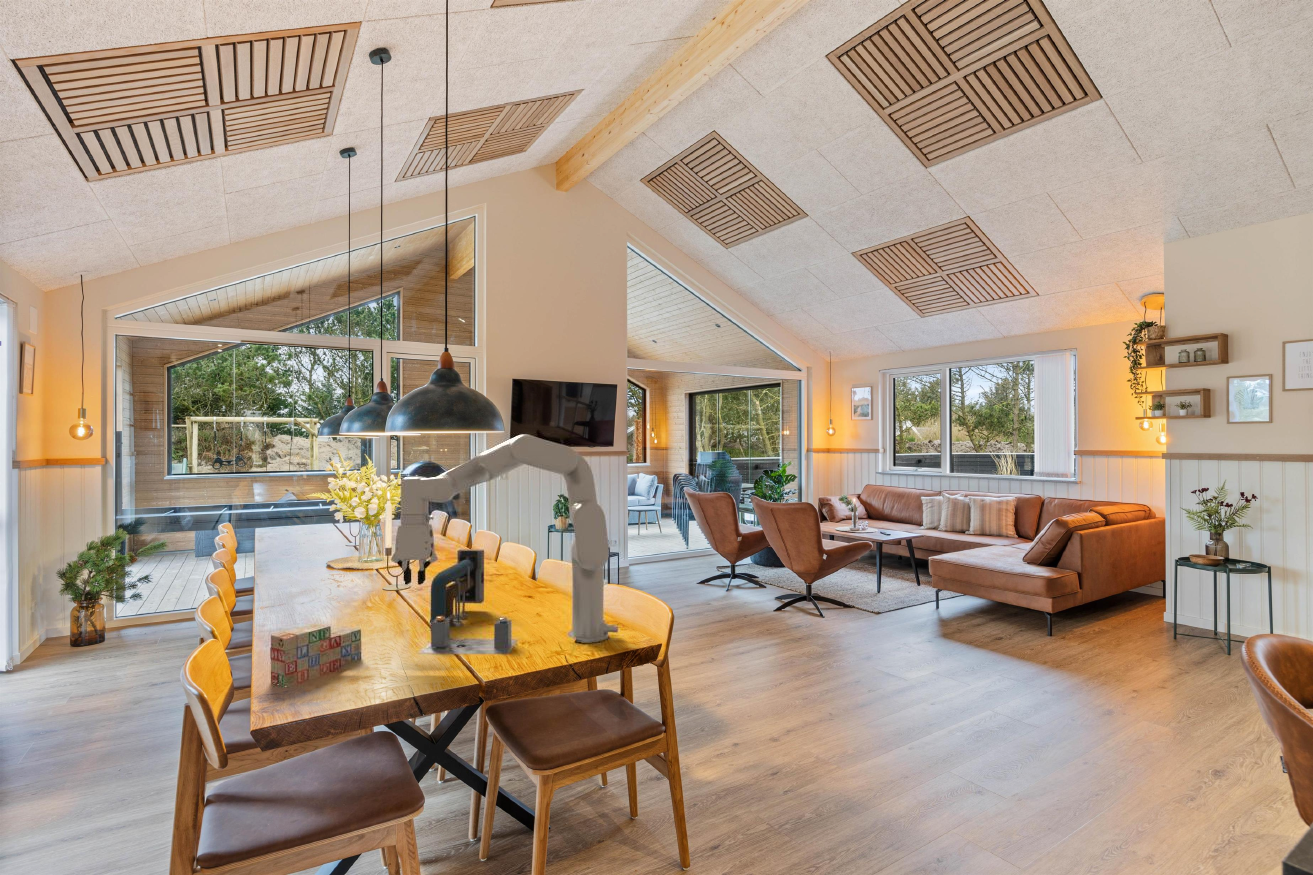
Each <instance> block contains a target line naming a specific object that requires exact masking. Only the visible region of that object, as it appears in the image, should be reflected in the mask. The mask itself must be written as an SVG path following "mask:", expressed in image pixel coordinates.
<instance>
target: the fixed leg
mask: <svg viewBox="0 0 1313 875" xmlns="http://www.w3.org/2000/svg"><path fill="white" fill-rule="evenodd" d="M493 626H494V628H493V629H494V630H493V631H494V632H493V636H494V637H493V639H494V648H509V647H510V645H511V639H512V619H508V617H506V616H503V617H498V619H497V620H495V622H494V624H493Z"/></svg>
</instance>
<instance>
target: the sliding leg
mask: <svg viewBox="0 0 1313 875" xmlns="http://www.w3.org/2000/svg"><path fill="white" fill-rule="evenodd" d="M430 630H431V631H430V642H431V647H446V646H447V645H448V644H449V640H450V639H451V637H450V619H445V616H437V617H436V619H435V620H433V621H432V622H431V623H430Z"/></svg>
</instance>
